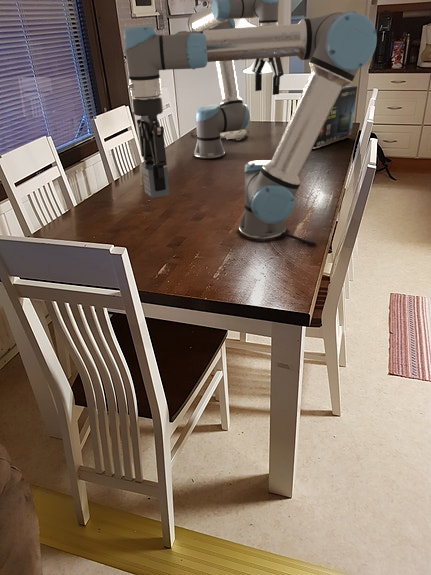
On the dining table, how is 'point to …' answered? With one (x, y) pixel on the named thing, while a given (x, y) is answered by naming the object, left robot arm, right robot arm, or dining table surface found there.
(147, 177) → the block
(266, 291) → the dining table surface
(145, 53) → the right robot arm
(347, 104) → the router box
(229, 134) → the fossil
